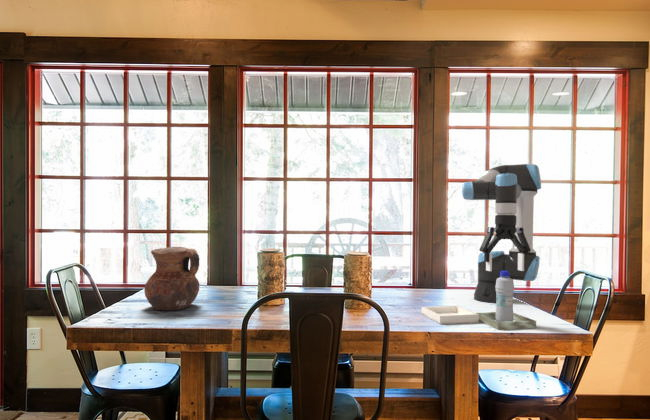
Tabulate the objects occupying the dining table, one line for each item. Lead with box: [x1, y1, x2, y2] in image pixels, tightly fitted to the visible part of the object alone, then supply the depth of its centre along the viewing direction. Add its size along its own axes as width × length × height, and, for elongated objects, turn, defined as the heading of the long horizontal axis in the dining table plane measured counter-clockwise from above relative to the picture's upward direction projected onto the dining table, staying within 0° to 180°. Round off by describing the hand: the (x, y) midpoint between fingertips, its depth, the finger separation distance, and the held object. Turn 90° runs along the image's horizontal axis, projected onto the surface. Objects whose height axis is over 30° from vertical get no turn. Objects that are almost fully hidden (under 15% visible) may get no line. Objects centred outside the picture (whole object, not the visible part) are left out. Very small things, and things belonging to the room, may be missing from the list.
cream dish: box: [421, 305, 480, 325], centre depth 179 cm, size 16×16×3 cm
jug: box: [143, 246, 200, 311], centre depth 193 cm, size 22×21×25 cm
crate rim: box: [475, 311, 537, 331], centre depth 172 cm, size 16×16×2 cm
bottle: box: [495, 271, 515, 322], centre depth 172 cm, size 7×7×20 cm
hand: (504, 270), depth 172 cm, fingers open, 13 cm apart
